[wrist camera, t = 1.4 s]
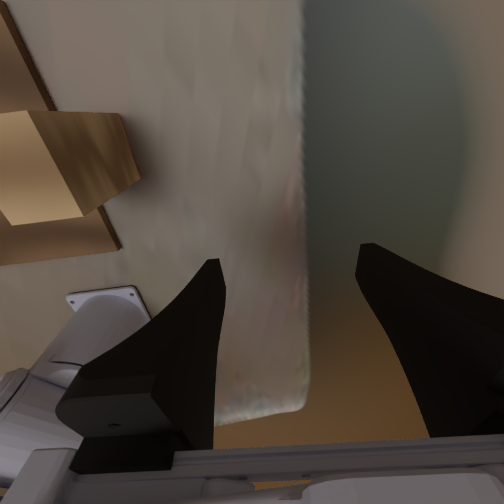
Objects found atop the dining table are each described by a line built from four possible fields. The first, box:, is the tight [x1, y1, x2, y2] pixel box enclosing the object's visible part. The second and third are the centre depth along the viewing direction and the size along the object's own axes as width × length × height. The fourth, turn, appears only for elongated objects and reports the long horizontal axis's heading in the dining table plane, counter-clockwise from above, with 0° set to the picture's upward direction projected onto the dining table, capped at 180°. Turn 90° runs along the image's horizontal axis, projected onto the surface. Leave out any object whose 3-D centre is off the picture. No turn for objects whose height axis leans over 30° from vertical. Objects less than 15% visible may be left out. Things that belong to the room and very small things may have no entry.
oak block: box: [0, 110, 141, 226], centre depth 15 cm, size 5×4×9 cm
